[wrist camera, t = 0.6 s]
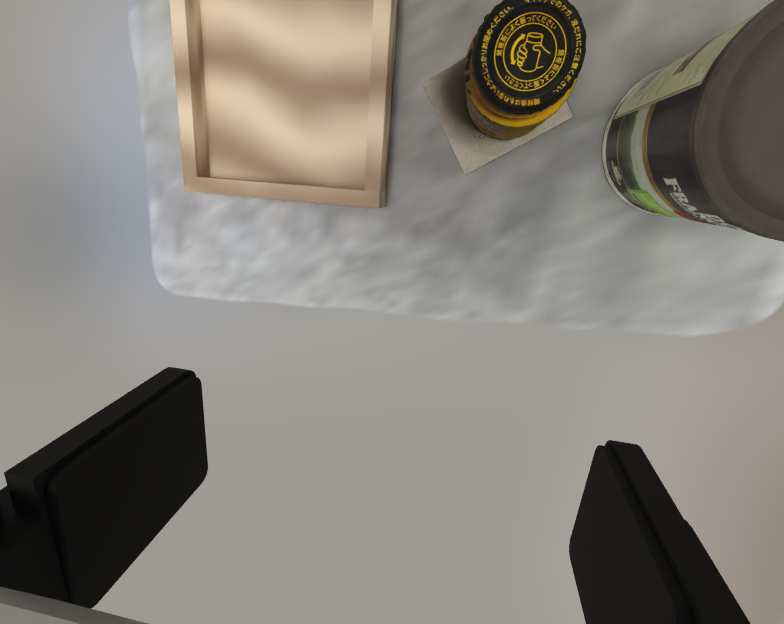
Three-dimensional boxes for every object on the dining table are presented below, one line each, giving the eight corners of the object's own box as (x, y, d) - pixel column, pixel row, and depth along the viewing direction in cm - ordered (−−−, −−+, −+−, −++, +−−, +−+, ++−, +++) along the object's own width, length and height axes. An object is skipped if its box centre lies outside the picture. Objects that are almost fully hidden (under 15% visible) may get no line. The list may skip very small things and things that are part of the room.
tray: (185, -67, 32) (162, -86, 29) (402, -69, 29) (396, -90, 27) (202, 190, 37) (184, 191, 35) (385, 206, 35) (378, 208, 33)
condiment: (572, 117, 31) (629, 82, 20) (464, 175, 33) (460, 174, 22) (532, 16, 29) (568, -83, 18) (422, 85, 32) (395, 34, 21)
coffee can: (707, 236, 31) (877, 279, 18) (575, 186, 32) (646, 192, 19) (800, 89, 28) (1094, 10, 15) (650, 35, 29) (802, -88, 15)
